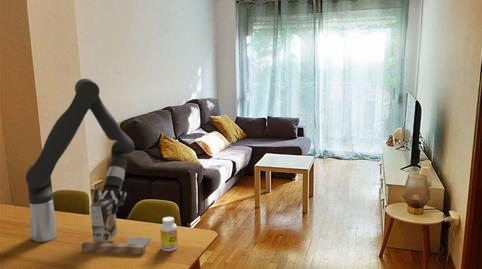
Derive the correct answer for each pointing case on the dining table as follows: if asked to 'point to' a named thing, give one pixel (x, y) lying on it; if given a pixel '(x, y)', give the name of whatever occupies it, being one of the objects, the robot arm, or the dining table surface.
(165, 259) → the dining table surface
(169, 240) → the supplement bottle
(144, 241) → the end mat
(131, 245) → the walnut fence
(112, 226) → the coffee box
